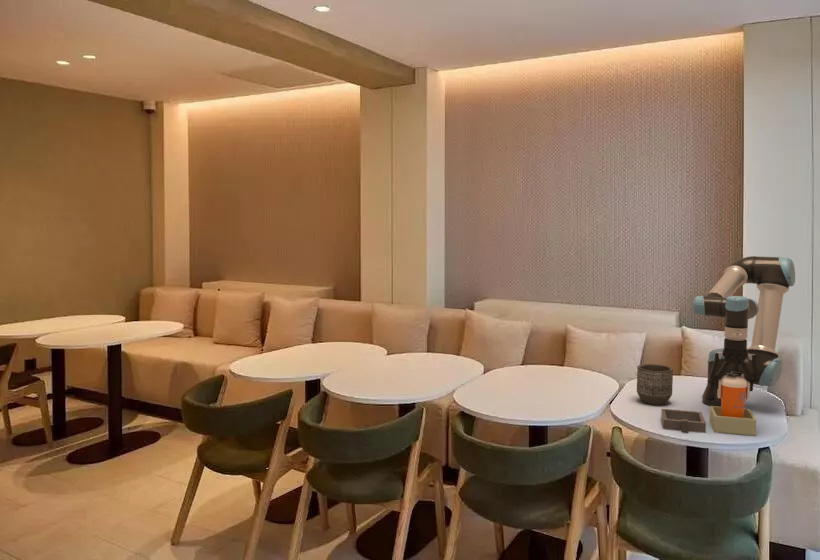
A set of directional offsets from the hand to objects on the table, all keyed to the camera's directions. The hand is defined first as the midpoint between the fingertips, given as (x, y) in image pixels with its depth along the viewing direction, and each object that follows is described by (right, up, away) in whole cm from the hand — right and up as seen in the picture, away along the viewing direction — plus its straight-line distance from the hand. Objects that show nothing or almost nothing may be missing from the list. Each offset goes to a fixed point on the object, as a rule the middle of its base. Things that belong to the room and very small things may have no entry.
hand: (733, 398), depth 239 cm
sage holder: (0, -11, +1) cm, 11 cm away
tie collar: (-17, -11, +4) cm, 21 cm away
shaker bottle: (0, -11, +1) cm, 11 cm away
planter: (-16, -8, +36) cm, 40 cm away
